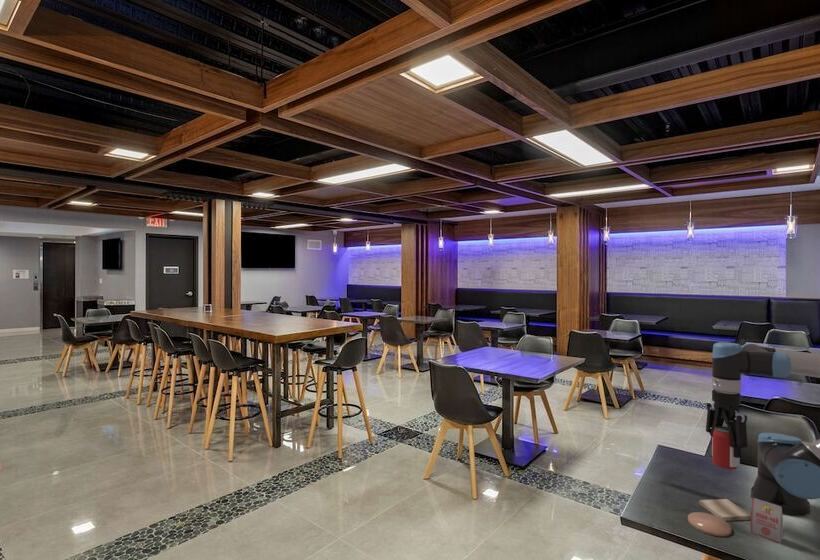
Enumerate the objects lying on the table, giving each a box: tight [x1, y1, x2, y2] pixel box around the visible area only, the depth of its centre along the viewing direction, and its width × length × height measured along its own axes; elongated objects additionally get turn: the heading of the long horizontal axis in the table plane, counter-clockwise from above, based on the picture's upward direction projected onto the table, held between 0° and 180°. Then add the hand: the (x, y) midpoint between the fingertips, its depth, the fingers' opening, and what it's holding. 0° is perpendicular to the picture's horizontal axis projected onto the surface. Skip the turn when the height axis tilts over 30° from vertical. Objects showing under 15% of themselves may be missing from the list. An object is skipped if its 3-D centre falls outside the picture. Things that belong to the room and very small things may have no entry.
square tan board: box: [698, 498, 751, 522], centre depth 140 cm, size 10×10×1 cm
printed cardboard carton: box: [750, 498, 784, 544], centre depth 127 cm, size 4×7×10 cm, turn 40°
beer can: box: [712, 425, 738, 470], centre depth 140 cm, size 7×7×12 cm
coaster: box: [687, 511, 733, 537], centre depth 132 cm, size 11×11×1 cm
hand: (725, 461), depth 140 cm, fingers closed on beer can, 7 cm apart
